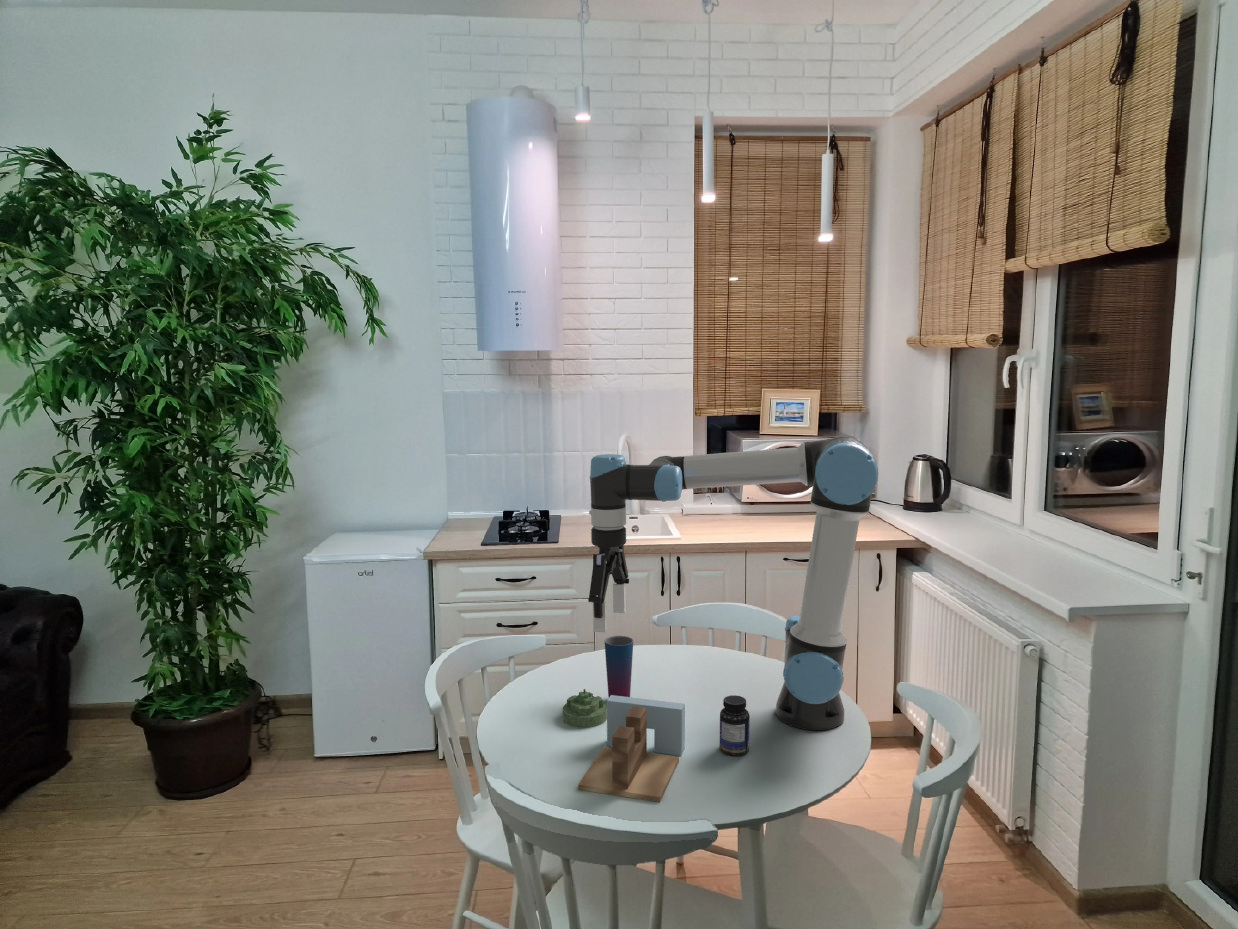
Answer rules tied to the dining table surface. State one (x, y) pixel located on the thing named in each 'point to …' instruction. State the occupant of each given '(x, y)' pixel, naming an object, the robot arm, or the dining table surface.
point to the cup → (619, 665)
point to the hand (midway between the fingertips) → (610, 621)
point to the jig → (630, 764)
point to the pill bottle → (734, 726)
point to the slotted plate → (651, 721)
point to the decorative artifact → (584, 710)
